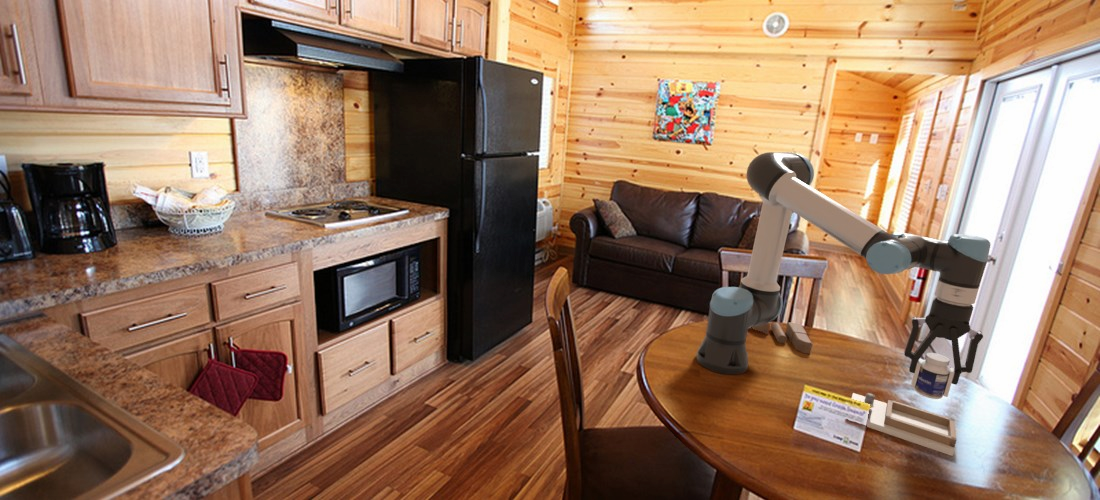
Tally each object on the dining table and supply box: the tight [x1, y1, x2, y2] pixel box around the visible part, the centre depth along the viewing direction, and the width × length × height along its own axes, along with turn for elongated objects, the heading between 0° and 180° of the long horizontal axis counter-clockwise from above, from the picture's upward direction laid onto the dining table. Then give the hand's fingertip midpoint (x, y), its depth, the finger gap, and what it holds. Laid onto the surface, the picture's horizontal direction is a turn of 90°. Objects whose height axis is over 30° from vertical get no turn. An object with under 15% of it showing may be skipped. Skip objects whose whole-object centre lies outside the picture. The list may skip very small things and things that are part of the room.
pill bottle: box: [913, 352, 951, 400], centre depth 122 cm, size 6×6×10 cm
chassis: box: [850, 392, 958, 457], centre depth 128 cm, size 22×14×4 cm, turn 54°
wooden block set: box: [751, 321, 813, 355], centre depth 175 cm, size 17×6×18 cm
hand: (928, 389), depth 123 cm, fingers closed on pill bottle, 6 cm apart
